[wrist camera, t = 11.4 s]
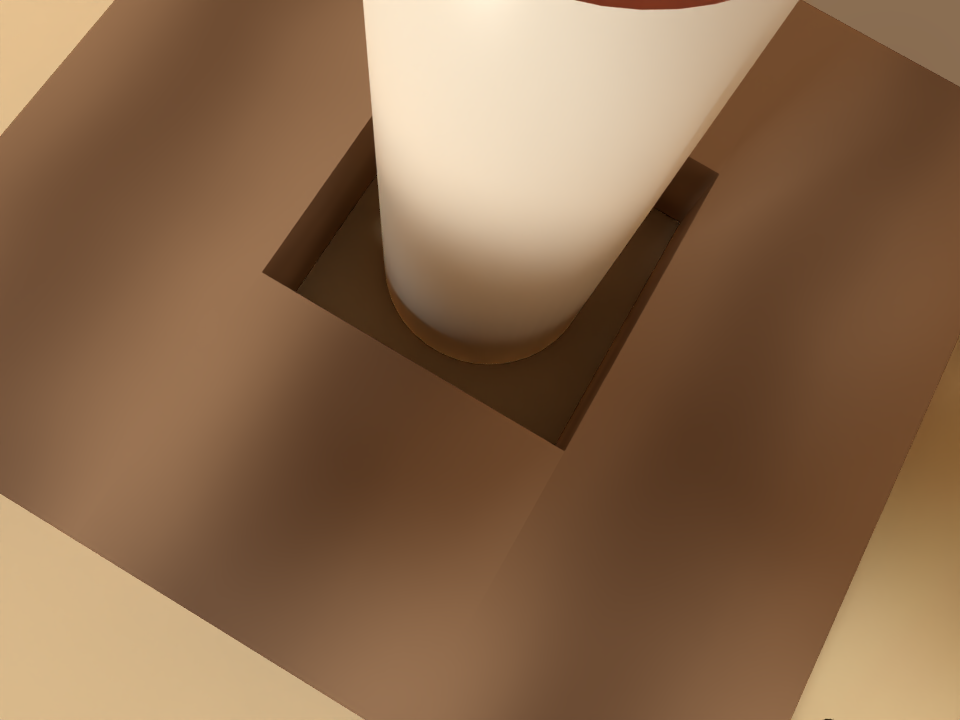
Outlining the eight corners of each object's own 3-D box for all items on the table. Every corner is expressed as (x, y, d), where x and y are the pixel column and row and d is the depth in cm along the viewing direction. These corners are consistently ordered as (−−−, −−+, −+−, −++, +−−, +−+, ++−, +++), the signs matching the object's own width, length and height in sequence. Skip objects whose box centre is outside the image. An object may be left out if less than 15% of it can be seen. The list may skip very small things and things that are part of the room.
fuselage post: (620, 319, 18) (1085, -195, 6) (432, 396, 18) (494, -4, 5) (537, 145, 19) (785, -637, 7) (353, 211, 18) (236, -533, 6)
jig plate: (970, 186, 20) (1047, 135, 17) (655, 869, 16) (699, 926, 13) (341, -163, 21) (331, -258, 18) (-109, 397, 17) (-198, 371, 14)
